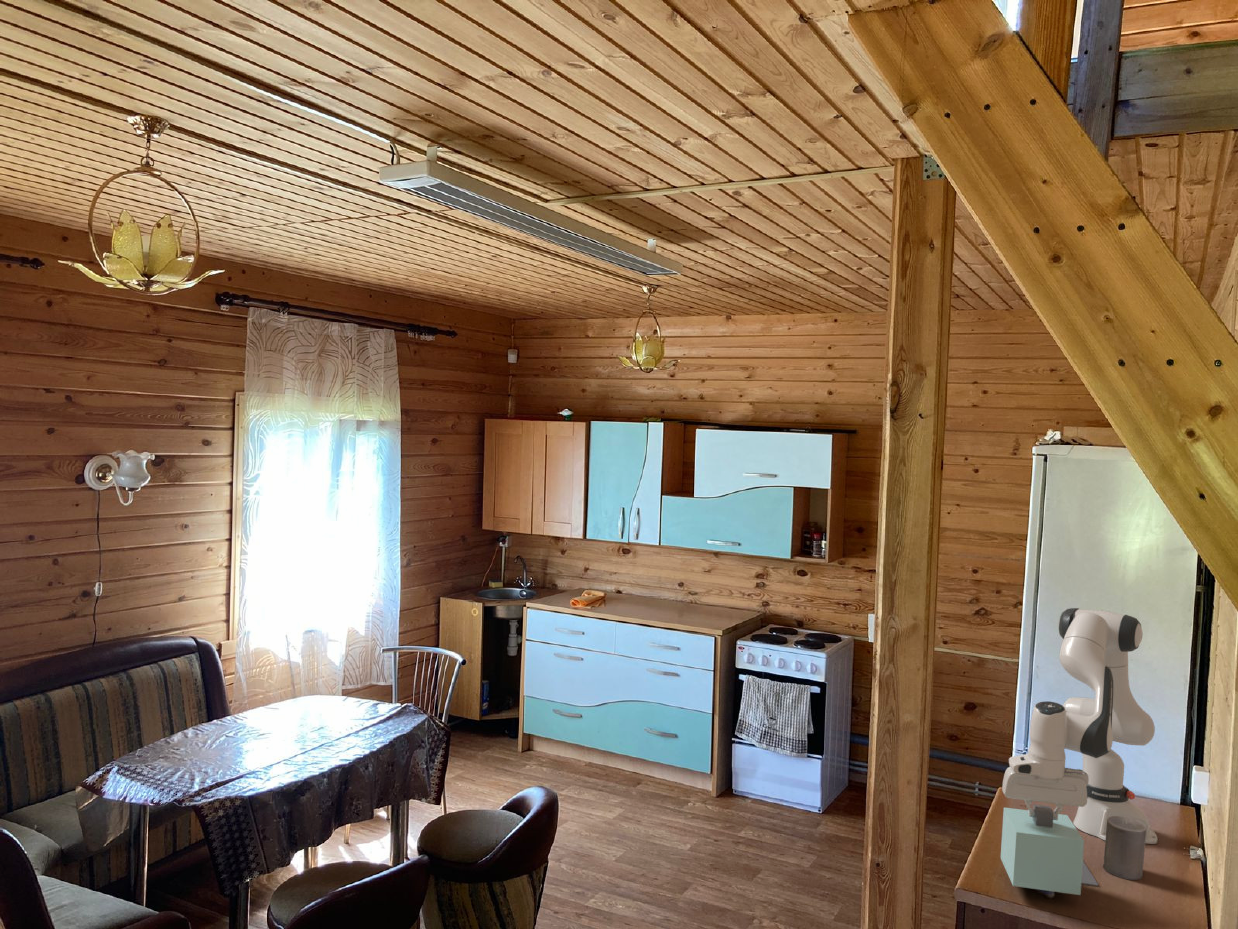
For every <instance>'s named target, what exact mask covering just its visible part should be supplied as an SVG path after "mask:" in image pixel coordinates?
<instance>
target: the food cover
mask: <svg viewBox="0 0 1238 929" xmlns="http://www.w3.org/2000/svg"><path fill="white" fill-rule="evenodd" d="M1032 804H1033V803H1032ZM1032 809H1035V811H1036V814H1035V817H1029V816H1028V809H1019V808H1011V807H1003V811H1002V812H1003V814H1002V829H1001V830H1002V831H1001V844H1000V848H1001V849H1000V860H1001V862H1002V865H1003V866H1004V870H1005V871H1006V873H1007V875H1008V878H1009V879H1010V882H1011V884H1012V885H1011V886H1012V887H1017V888H1018V887H1019V888H1026V889H1032V890H1034V889H1039V890H1047V891H1054V893H1055V892H1056V893H1060V894H1061V893H1062V894H1070V895H1076V896H1077V895H1078V896H1081V893H1082V892H1081V891H1082V884H1081V880H1082V865H1083V861H1084V852H1085V849H1084V848H1085V840H1084V838H1083V837H1082V835H1081V834H1080V832H1079V831H1078V828H1077V827H1076V826H1075V825H1074V824H1073V821H1072V820H1071V819H1070V817H1069V816H1068V814H1060V813H1059V814H1058V820H1053V813H1054V812H1053V811H1054V810H1053V809H1052V807H1051V806H1049V805H1043V804H1042V805H1041V804H1035V803H1034V804H1033V806H1032Z"/></svg>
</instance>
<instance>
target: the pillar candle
mask: <svg viewBox="0 0 1238 929" xmlns="http://www.w3.org/2000/svg"><path fill="white" fill-rule="evenodd" d="M1145 839H1146V826H1145V825H1144V824H1143V823H1141V822H1139V821H1136V820H1134V819H1131V818H1127V817H1123V816H1111V817H1108V819H1107V827H1106V840H1104V841H1105V842H1104V856H1103V865H1102V868H1103V870H1105V872H1107V873H1108V874H1110V875H1112V876H1114V877H1117V878H1121V879H1124V880H1129V881H1136V880H1137V881H1138V880H1141V879H1142V878H1143V873H1144V863H1145V862H1144V861H1145V848H1146V843H1145Z"/></svg>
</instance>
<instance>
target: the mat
mask: <svg viewBox="0 0 1238 929" xmlns="http://www.w3.org/2000/svg"><path fill="white" fill-rule="evenodd" d="M1081 885H1084V886H1091V887H1092V886H1093V887H1099V886H1100V885H1099V883H1098V882H1097V880H1096V879H1095V877H1094V875H1093V874H1092V872H1091V871H1090V869H1089V868H1088V866H1087V864H1086V863H1085V861H1084V860H1083V865H1082V880H1081Z"/></svg>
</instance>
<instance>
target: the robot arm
mask: <svg viewBox="0 0 1238 929" xmlns="http://www.w3.org/2000/svg"><path fill="white" fill-rule="evenodd" d="M1057 627H1058V633H1059V636H1060V637H1061V638H1062V639H1063V641H1062V643H1061V646H1060V651H1059V657H1058V658H1059V661H1060V664H1061V666H1062V667H1063V669H1064V670H1065V671H1066V673H1068V674H1069V676H1071V677H1073V678H1074V679H1075V680H1077V681H1080V682H1081V683H1083V684H1085V685H1086V686H1088V687H1089V688H1090V689H1091V690H1092V691H1094V692H1095V698H1089V697H1080V696H1077V697H1076V696H1074V697H1073V696H1072V697H1068V698H1067V699H1066V700H1065V702H1064V703H1063V704H1061V703H1058V702H1056V701H1055V702H1054V701H1050V700H1047V701H1046V700H1045V701H1040V702H1038V703H1037V702H1036V704H1034V707H1033V710H1032V714H1031V719H1030V725H1029V739H1030V745H1029V747H1028V753H1025V754H1021V755H1015V756H1014V755H1013V756H1010V757H1009V758H1008V764H1009V767H1007V768H1006V770H1005V772H1004V775H1003V779H1002V787H1001V790H1002V793H1003V795H1004V796H1005V797H1006V798H1008V799H1014V800H1021V801H1024V803H1025V805H1026V807H1027V810H1028V816H1029V817H1035V814H1036V811H1035V809H1033V807H1031V805H1032V804H1033V802H1039V803H1046V804H1047V803H1048V804H1054V805H1055V806H1056V807H1055V809H1053V810H1052V811H1053V812H1054V813H1053V820H1058V814H1060V813H1061V812H1062V810H1064V806H1072V807H1078V808H1077V811H1076V814H1075V817H1074V819H1073V821H1072V823H1073V825H1074V826H1075V828H1076V829H1077V830H1080V831H1082V832H1084V833H1086V834H1087V835H1088V834H1089V835H1091V836H1094V837H1096V838H1097V837H1098V838H1099V839H1101V840H1103V841H1105V840H1106V827H1107V819H1108V817H1111V816H1123V817H1127V818H1131V819H1134V820H1136V821H1139V822H1141V823H1143V824H1144V825H1145V826H1146V839H1145V844H1149V845H1150V844H1151V845H1155V844H1157V843H1158V836H1157V835H1158V834H1156V833H1155V831H1154V830H1153V829H1152V828H1150V823H1149V820H1148V817H1147V815H1146V814H1145V813H1144V811H1142V809H1140V808H1139V806H1137V805H1136V804H1135V803H1134V802H1132V801H1131V800H1135V799H1136V794H1135V793H1134V792H1133V791H1131V790H1130V789H1129V788H1127V787H1126V786H1125V785H1124V776H1125V763H1124V761H1123V758H1122V757H1121V756H1120V755H1119V754H1118V753H1117V752H1116V751H1114V750H1113V749H1112V746H1113V742H1114V743H1115V742H1116V743H1119V744H1123V745H1128V746H1129V745H1130V746H1143V747H1144V746H1146V745H1147V744H1149V743H1150V742H1151V741H1152V740H1153V738H1154V736H1155V731H1156V727H1155V723H1154V721H1153V718H1152V717H1151V716H1150V714H1148V713H1147V712H1146V711H1145V710H1144V709H1143V708H1142V707H1141V706H1140V705H1139V703H1138V702H1137V701H1136V699H1135V697H1134V696H1133V693H1132V691H1131V688H1130V681H1129V652H1134V651H1135V650H1137V649H1139V647H1140V644H1141V642H1142V640H1143V635H1144V634H1143V628H1142V624H1141V622H1140V621H1139V620H1138V618H1136V617H1134V616H1132V615H1129V614H1121V613H1117V612H1116V613H1115V612H1111V611H1107V610H1095V609H1081V608H1079V607H1078V608H1077V607H1071V608H1070V607H1069V608H1067V609H1065V610H1064V611H1063V612H1061V615H1060V616H1059V620H1058V625H1057ZM1065 750H1068V751H1073V752H1077V753H1081V755H1082V769H1080V768H1076V769H1075V768H1070V767H1066V752H1065Z"/></svg>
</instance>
